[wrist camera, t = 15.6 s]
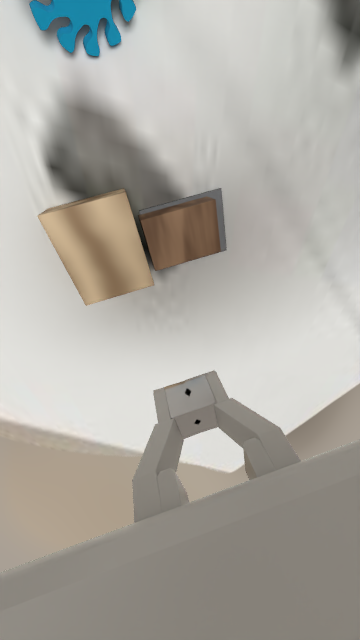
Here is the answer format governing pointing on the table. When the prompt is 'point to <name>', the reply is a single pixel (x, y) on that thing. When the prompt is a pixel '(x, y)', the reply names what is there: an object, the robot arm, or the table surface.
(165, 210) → the walnut slab
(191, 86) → the table surface
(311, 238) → the table surface
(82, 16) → the blue lobed piece
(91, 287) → the oak step
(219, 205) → the felt pad
